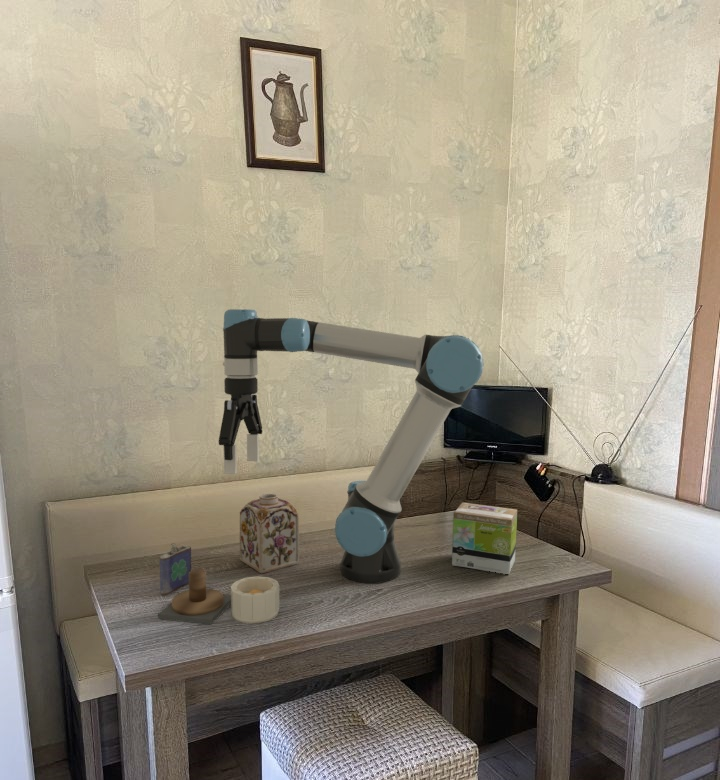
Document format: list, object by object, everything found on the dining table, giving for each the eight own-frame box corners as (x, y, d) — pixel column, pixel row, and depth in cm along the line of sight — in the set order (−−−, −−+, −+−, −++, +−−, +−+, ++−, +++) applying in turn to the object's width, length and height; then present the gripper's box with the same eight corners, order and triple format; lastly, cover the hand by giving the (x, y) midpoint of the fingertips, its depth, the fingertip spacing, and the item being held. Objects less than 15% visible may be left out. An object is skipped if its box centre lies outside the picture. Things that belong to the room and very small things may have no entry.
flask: (165, 596, 143) (164, 551, 142) (156, 594, 144) (155, 548, 143) (194, 582, 151) (193, 539, 150) (185, 580, 152) (184, 537, 151)
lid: (231, 595, 141) (231, 565, 141) (210, 617, 131) (209, 584, 130) (186, 591, 143) (185, 561, 143) (162, 612, 133) (161, 579, 132)
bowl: (284, 604, 139) (284, 578, 138) (269, 625, 129) (269, 597, 129) (242, 600, 141) (242, 574, 140) (224, 620, 131) (223, 593, 131)
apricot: (267, 605, 137) (267, 587, 136) (260, 613, 133) (260, 595, 132) (250, 603, 137) (249, 585, 137) (243, 611, 134) (242, 593, 133)
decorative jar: (260, 575, 156) (259, 504, 154) (238, 561, 165) (237, 494, 163) (300, 564, 163) (300, 496, 161) (277, 551, 172) (277, 487, 170)
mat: (234, 599, 142) (234, 595, 141) (211, 624, 130) (211, 619, 130) (185, 594, 144) (185, 590, 144) (158, 618, 132) (158, 613, 132)
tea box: (451, 567, 162) (452, 511, 160) (459, 554, 171) (461, 501, 169) (510, 576, 156) (512, 518, 154) (516, 562, 165) (517, 507, 164)
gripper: (246, 372, 157) (247, 455, 159) (201, 380, 133) (203, 478, 135) (274, 373, 156) (275, 456, 158) (234, 381, 131) (236, 480, 134)
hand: (242, 467), depth 147 cm, fingers open, 13 cm apart
